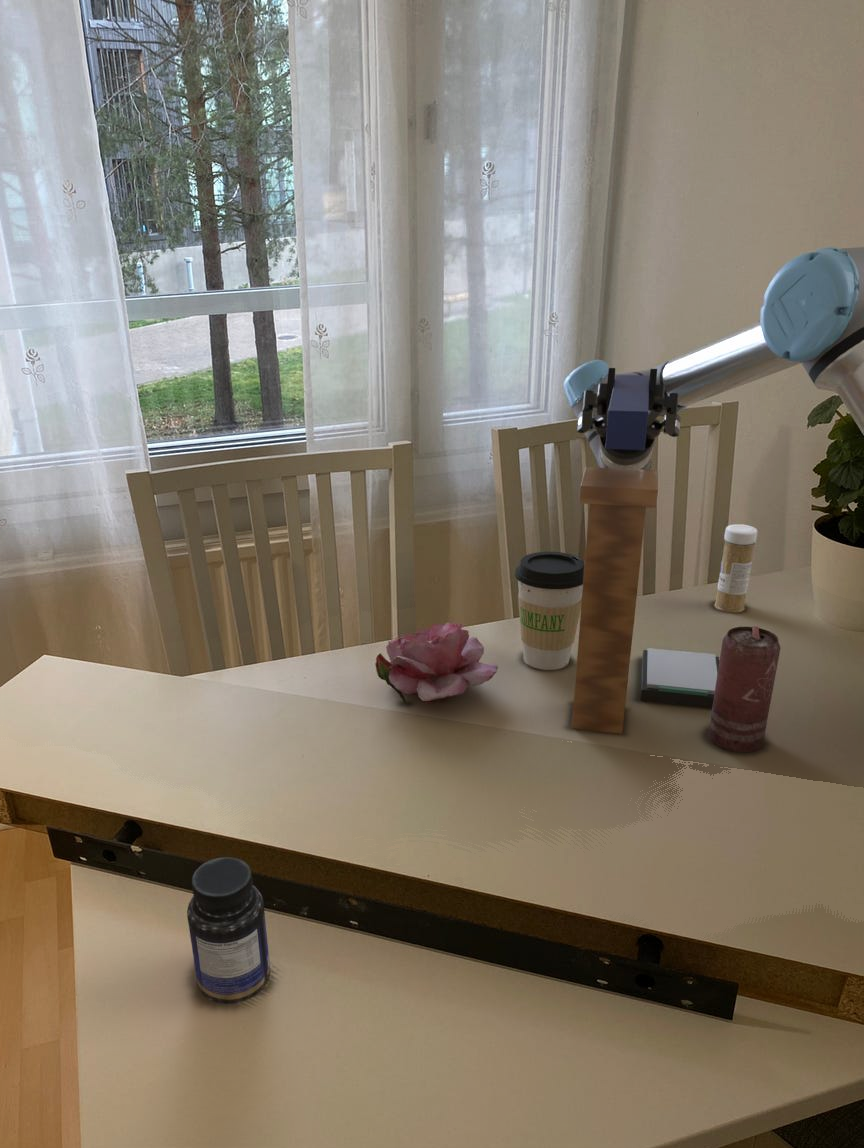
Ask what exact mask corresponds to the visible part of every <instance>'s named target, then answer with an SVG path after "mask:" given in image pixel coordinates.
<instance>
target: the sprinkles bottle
mask: <svg viewBox="0 0 864 1148" xmlns="http://www.w3.org/2000/svg"><path fill="white" fill-rule="evenodd" d="M723 537H724V538H723V539H724V545H723V546H724V547H723V552H722V559H721V562H720V571H719V577H718V583H717V592H716V598H715V602H714V607H715V609H717V610H719V611H721V612H724V613H740V612H743V611H745V602H746V596H747V593H748V587H749V581H750V576H751V571H752V570H751V569H752V563H753V554H754V548H755V544H756V542H757V538H758V529H757V528H756V527H754V526H751V525H748V524H739V523H738V524H737V523H736V524H729V525H727V526H726V527H725V530H724V536H723Z"/></svg>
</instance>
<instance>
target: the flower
mask: <svg viewBox="0 0 864 1148" xmlns="http://www.w3.org/2000/svg"><path fill="white" fill-rule="evenodd" d="M463 626H464V623H457V624H455V625H454V623H453V622H451V621H449V622H446V623H445V624H439V623H435V624H433V625H432V626H430V627H429V629H422V628H420V629H419V630H417V632H416V633H414V634H411V633H406V634H404V635H403V636H400V637H396V638H395V639H391V640H388V644H387V645H386V646H385V648H386V654H387V656H388V658H389V659H388V660H389V661H388V660H387V659H386V657H384V655H383V654H382V653H381V652H380V653H379V654H378V655H376V657H375V671H376V674H377V677H378V678H379V679H380V680H383V681H385V683H386V684H387V685H388V686H390V687H391V688H392V689H393V690H394V691H395V692H396V693H397V694H398V695H399V697H400V698H401V700H402V701H403V702H404V704H405V705H408V702H407V699H406V697H405V695H404V694H406V695H410V694H417V695H418V698H419V699H420V700H421V701H422V702H430V701H436V700H439V699H444V698H447V697H453V696H460V695H462V694H464V693H465V692H466V691H467V689H468V687H469V686H470V687H471V686H472V687H475V686H479V685H482V684H484V683H487V682H489V681H490V680H491V679H492V678H493V677H494V676H495V675H496V674H497V673H498V668H499V667H498V663H484V662H481V661H480V660H481V659H482V657H483V656H484V652H485V647H484V645H483V644H482V643H481V642H480V641H479V639H478V638H477V637H475V636H472V637H470V635H469V630H466V629H463Z"/></svg>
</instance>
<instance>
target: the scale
mask: <svg viewBox="0 0 864 1148" xmlns="http://www.w3.org/2000/svg"><path fill="white" fill-rule="evenodd" d="M719 660H720V656H716V653H704V652H695V651H694V652H693V651H684V650H672V649H663V648H651V647H648V648H647V649H643V650H642V655H641V675H640V676H641V681H640V701H642V702H643V701H644V702H654V703H663V704H673V705H680V706H681V705H683V706H691V707H700V708H711V709H712V706H713V700H714V693H715V687H716V680H717V674H718V667H719Z"/></svg>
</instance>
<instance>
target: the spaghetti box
mask: <svg viewBox="0 0 864 1148" xmlns="http://www.w3.org/2000/svg"><path fill="white" fill-rule="evenodd" d="M615 375H616V374H615ZM648 405H649V376H648V375H616V377H615V382H614V386H613V391H612V395H611V400H610V405H609V410H608V419H607V432H606V444H605V449H623V450H645V441H646V431H647V421H648Z"/></svg>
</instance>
